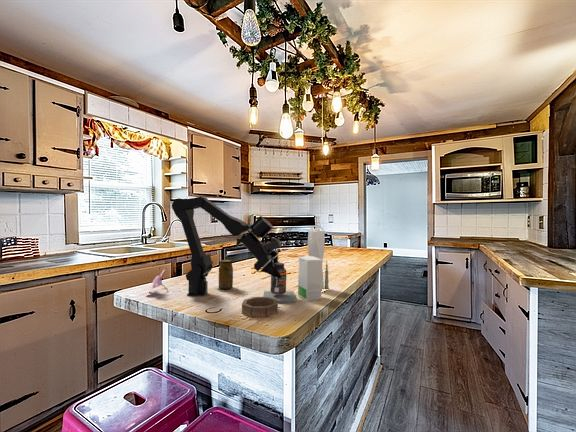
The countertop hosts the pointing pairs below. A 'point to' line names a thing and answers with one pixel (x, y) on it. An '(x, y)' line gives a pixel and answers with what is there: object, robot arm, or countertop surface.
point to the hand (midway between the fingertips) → (282, 275)
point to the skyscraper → (318, 249)
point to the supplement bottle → (279, 280)
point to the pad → (281, 296)
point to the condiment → (226, 276)
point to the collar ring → (260, 307)
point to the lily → (157, 282)
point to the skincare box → (310, 278)
